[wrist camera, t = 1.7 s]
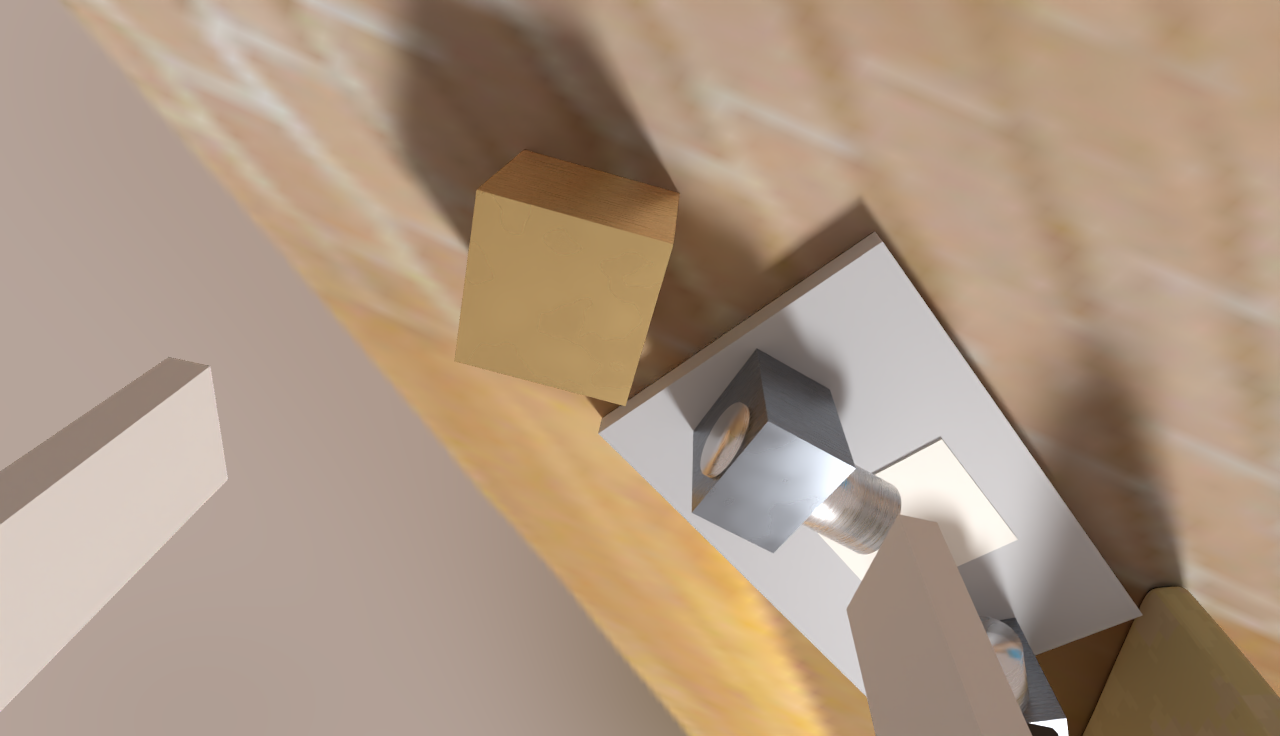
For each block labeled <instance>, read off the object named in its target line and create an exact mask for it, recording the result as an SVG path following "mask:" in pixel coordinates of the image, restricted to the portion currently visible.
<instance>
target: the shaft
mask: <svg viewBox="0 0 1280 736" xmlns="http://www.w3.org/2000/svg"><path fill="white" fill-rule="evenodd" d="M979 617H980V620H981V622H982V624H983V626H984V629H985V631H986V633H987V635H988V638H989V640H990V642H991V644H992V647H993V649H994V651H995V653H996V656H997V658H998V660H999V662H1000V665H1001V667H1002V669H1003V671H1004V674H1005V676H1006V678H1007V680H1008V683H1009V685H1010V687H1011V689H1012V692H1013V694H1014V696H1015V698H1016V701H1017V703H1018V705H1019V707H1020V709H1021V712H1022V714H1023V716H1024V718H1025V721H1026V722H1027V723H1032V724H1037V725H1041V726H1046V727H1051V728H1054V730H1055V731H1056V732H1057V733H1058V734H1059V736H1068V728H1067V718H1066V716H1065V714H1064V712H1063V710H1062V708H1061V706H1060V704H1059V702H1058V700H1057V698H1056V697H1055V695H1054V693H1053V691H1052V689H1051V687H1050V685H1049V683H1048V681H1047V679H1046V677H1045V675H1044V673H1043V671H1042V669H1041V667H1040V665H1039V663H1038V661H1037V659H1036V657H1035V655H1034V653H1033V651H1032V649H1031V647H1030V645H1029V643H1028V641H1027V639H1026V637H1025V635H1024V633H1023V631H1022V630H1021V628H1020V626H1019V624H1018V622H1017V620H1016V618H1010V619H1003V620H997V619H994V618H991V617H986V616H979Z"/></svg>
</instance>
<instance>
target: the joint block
mask: <svg viewBox="0 0 1280 736" xmlns="http://www.w3.org/2000/svg"><path fill="white" fill-rule="evenodd" d="M679 194H680V193H677V192H673V191H670V190H666V189H663V188H659V187H655V186H652V185H648V184H645V183H641V182H638V181H634V180H631V179H627V178H624V177H620V176H616V175H613V174H609V173H606V172H602V171H599V170H595V169H592V168H588V167H585V166H581V165H577V164H574V163H570V162H567V161H563V160H560V159H556V158H553V157H549V156H546V155H542V154H538V153H535V152H531V151H528V150H523V151H522V152H521V153H520V154H519V155H517V156H516V157H515V158H514V159H513V160H511V161H510V162H509V163H508V164H507V165H505V166H504V167H503V168H502V169H501V170H499V171H498V172H497V173H496V174H495V175H493V176H492V177H491V178H490V179H489V180H488V181H486V182H485V183H484V184H483V185H482V186H480V187H479V188H478V189H477V190H476V198H475V205H474V213H473V221H472V229H471V236H470V244H469V252H468V260H467V267H466V275H465V283H464V291H463V298H462V306H461V314H460V322H459V329H458V337H457V345H456V352H455V360H454V361H455V362H459V363H463V364H467V365H471V366H474V367H478V368H482V369H486V370H490V371H493V372H497V373H501V374H505V375H509V376H512V377H516V378H520V379H524V380H528V381H531V382H535V383H539V384H543V385H547V386H550V387H554V388H558V389H562V390H566V391H569V392H573V393H577V394H581V395H585V396H588V397H592V398H596V399H600V400H604V401H607V402H611V403H615V404H619V405H623V406H626V403H627V400H628V396H629V393H630V389H631V386H632V383H633V379H634V376H635V373H636V369H637V366H638V362H639V359H640V356H641V352H642V349H643V346H644V342H645V339H646V335H647V332H648V329H649V325H650V322H651V319H652V315H653V312H654V309H655V305H656V302H657V298H658V295H659V292H660V288H661V285H662V282H663V278H664V275H665V271H666V268H667V265H668V261H669V258H670V255H671V251H672V248H673V244H674V236H675V228H676V219H677V211H678V202H679Z"/></svg>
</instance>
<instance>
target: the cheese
mask: <svg viewBox="0 0 1280 736" xmlns="http://www.w3.org/2000/svg"><path fill="white" fill-rule="evenodd" d="M1139 610H1140V612H1141V613H1142V616H1140V617H1137V618H1135V619H1134V621H1133V623H1132V626H1131V628H1130V630H1129V632H1128V635H1127V637H1126V639H1125V641H1124V644H1123V646H1122V648H1121V650H1120V653H1119V655H1118V657H1117V659H1116V662H1115V664H1114V666H1113V669H1112V671H1111V673H1110V675H1109V678H1108V680H1107V682H1106V685H1105V687H1104V689H1103V692H1102V694H1101V696H1100V699H1099V701H1098V703H1097V705H1096V708H1095V710H1094V712H1093V714H1092V717H1091V719H1090V721H1089V723H1088V725H1087V727H1086V730H1085V732H1084V734H1083V736H1280V698H1279V697H1278V695H1277V694H1276V693H1275V692H1274V690H1273V689H1272V688H1271V687H1270V686H1269V684H1268V683H1267V682H1266V681H1265V679H1264V678H1263V677H1262V676H1261V675H1260V673H1259V672H1258V671H1257V670H1256V669H1255V667H1254V666H1253V665H1252V664H1251V663H1250V662H1249V660H1248V659H1247V658H1246V657H1245V656H1244V654H1243V653H1242V652H1241V651H1240V650H1239V649H1238V647H1237V646H1236V645H1235V644H1234V643H1233V642H1232V640H1231V639H1230V638H1229V637H1228V636H1227V635H1226V633H1225V632H1224V631H1223V630H1222V629H1221V628H1220V627H1219V625H1218V624H1217V623H1216V622H1215V621H1214V620H1213V619H1212V617H1211V616H1210V615H1209V614H1208V613H1207V612H1206V611H1205V609H1204V608H1203V607H1202V606H1201V605H1200V604H1199V603H1198V601H1197V600H1196V599H1195V598H1194V597H1193V596H1192V595H1191V593H1190V592H1189V591H1188V590H1186V589H1184V588H1182V587H1163V588H1156V589H1152V590H1151V591H1149V592H1148V594H1147V595H1146V596H1145V598H1144V600H1143V601H1142V603H1141V605H1140V608H1139Z"/></svg>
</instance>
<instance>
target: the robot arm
mask: <svg viewBox="0 0 1280 736" xmlns="http://www.w3.org/2000/svg"><path fill="white" fill-rule="evenodd" d="M227 480H228V476H227V470H226V464H225V457H224V451H223V444H222V438H221V431H220V425H219V419H218V412H217V406H216V400H215V393H214V387H213V380H212V374H211V367H210V366H208V365H203V364H199V363H194V362H189V361H185V360H180V359H175V358H171V357H168V358H167V359H165V360H164V361H162V362H161V363H159V364H158V365H156V366H155V367H153V368H152V369H151V370H149V371H148V372H146V373H145V374H143V375H142V376H140V377H139V378H137V379H136V380H134V381H133V382H131V383H130V384H129V385H127V386H125V387H124V388H123V389H121V390H120V391H118V392H117V393H115V394H114V395H112V396H111V397H109V398H108V399H107V400H105V401H103V402H102V403H101V404H99V405H98V406H96V407H95V408H93V409H92V410H90V411H89V412H87V413H86V414H84V415H83V416H82V417H80V418H78V419H77V420H75V421H74V422H72V423H71V424H70V425H68V426H67V427H65V428H64V429H62V430H61V431H59V432H58V433H56V434H55V435H53V436H52V437H51V438H49V439H47V440H46V441H45V442H43V443H42V444H40V445H39V446H37V447H36V448H34V449H33V450H31V451H30V452H28V453H27V454H25V455H24V456H22V457H21V458H19V459H18V460H17V461H15V462H14V463H12V464H11V465H9V466H8V467H6V468H5V469H3V470H2V471H0V712H1V711H2V710H3V709H4V708H5V707H6V706H7V704H8V703H9V702H10V701H11V700H12V699H13V698H14V697H15V696H16V695H17V694H18V693H19V692H20V691H21V690H22V689H23V688H24V687H25V686H26V685H27V684H28V683H29V682H30V681H31V680H32V679H33V678H34V677H35V676H36V675H37V674H38V673H39V672H40V671H41V670H42V669H43V668H44V667H45V666H46V665H47V664H48V663H49V662H50V660H51V659H53V658H54V656H55V655H56V654H57V653H58V652H59V651H60V650H61V649H62V648H63V647H64V646H65V645H66V644H67V643H68V642H69V641H70V640H71V639H72V638H73V637H74V636H75V635H76V634H77V633H78V632H79V631H80V630H81V629H82V628H83V627H84V626H85V625H86V624H87V623H88V622H89V621H90V620H91V619H92V617H94V616H95V614H97V613H98V611H100V609H101V608H102V607H103V606H104V605H105V604H106V603H107V602H108V601H109V600H110V599H111V598H112V597H113V596H114V595H115V594H116V593H117V592H118V591H119V590H120V589H121V588H122V587H123V586H124V585H125V584H126V583H127V582H128V581H129V580H130V579H131V578H132V577H133V576H134V575H135V574H136V573H137V572H138V571H139V570H140V569H141V568H142V567H143V565H144V564H146V562H147V561H148V560H149V559H150V558H151V557H152V556H153V555H154V554H155V553H156V552H157V551H158V550H159V549H160V548H161V547H162V546H163V545H164V544H165V543H166V542H167V541H168V540H169V539H170V538H171V537H172V536H173V535H174V534H175V533H176V532H177V531H178V530H179V529H180V528H181V527H182V526H183V525H184V524H185V523H186V522H187V520H189V518H191V516H193V514H194V513H195V512H196V511H197V510H198V509H199V508H200V507H201V506H202V505H203V504H204V503H205V502H206V501H207V500H208V499H209V498H210V497H211V496H212V495H213V494H214V493H215V492H216V491H217V490H218V489H219V488H220V487H221V486H222V485H223V484H224V483H225V482H226V481H227ZM846 610H847V615H848V619H849V623H850V627H851V632H852V636H853V640H854V644H855V649H856V653H857V657H858V661H859V666H860V670H861V674H862V679H863V683H864V687H865V691H866V696H867V700H868V704H869V708H870V713H871V717H872V721H873V725H874V730H875V734H876V736H1059V734H1058V733H1057V732H1056V731H1055V730H1054V728H1051V727H1046V726H1041V725H1037V724H1032V723H1027V722H1026V721H1025V718H1024V716H1023V714H1022V712H1021V709H1020V707H1019V705H1018V703H1017V701H1016V698H1015V696H1014V694H1013V692H1012V689H1011V687H1010V685H1009V683H1008V680H1007V678H1006V676H1005V674H1004V671H1003V669H1002V667H1001V665H1000V662H999V660H998V658H997V656H996V653H995V651H994V649H993V647H992V644H991V642H990V640H989V638H988V635H987V633H986V631H985V629H984V626H983V624H982V622H981V620H980V617H979V615H978V613H977V611H976V609H975V606H974V604H973V602H972V600H971V597H970V595H969V593H968V591H967V588H966V586H965V584H964V582H963V579H962V577H961V575H960V573H959V570H958V568H957V566H956V564H955V561H954V559H953V557H952V555H951V552H950V550H949V548H948V546H947V543H946V541H945V539H944V537H943V534H942V532H941V530H940V528H939V525H938V523H937V522H933V521H928V520H924V519H919V518H914V517H910V516H905V515H900V514H898V516H897V517H896V519H895V521H894V523H893V525H892V527H891V528H890V530H889V532H888V534H887V536H886V538H885V539H884V541H883V543H882V545H881V547H880V548H879V550H878V552H877V554H876V556H875V558H874V559H873V561H872V563H871V565H870V567H869V569H868V570H867V572H866V574H865V576H864V578H863V580H862V581H861V583H860V585H859V587H858V589H857V590H856V592H855V594H854V596H853V598H852V600H851V601H850V603H849V605H848V607H847V609H846Z"/></svg>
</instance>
